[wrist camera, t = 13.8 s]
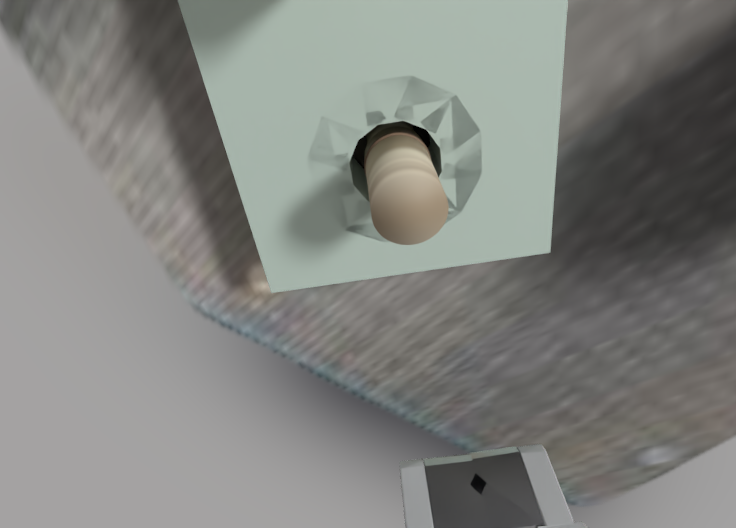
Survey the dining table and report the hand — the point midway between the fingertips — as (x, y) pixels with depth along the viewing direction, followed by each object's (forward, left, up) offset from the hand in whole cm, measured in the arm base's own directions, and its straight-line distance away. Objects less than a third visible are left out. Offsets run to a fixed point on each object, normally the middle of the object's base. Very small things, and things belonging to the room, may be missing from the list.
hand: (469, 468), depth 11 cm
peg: (0, 0, -21) cm, 21 cm away
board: (-4, 0, -21) cm, 21 cm away
